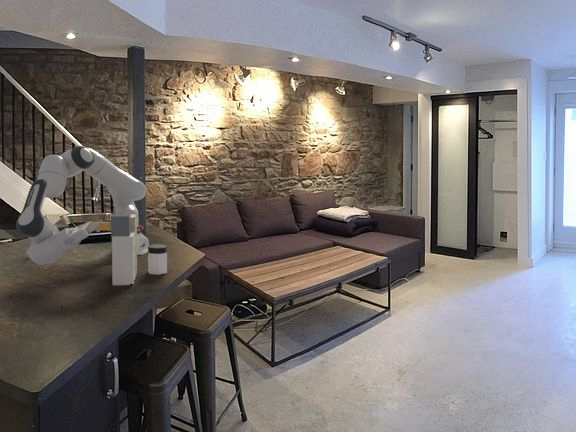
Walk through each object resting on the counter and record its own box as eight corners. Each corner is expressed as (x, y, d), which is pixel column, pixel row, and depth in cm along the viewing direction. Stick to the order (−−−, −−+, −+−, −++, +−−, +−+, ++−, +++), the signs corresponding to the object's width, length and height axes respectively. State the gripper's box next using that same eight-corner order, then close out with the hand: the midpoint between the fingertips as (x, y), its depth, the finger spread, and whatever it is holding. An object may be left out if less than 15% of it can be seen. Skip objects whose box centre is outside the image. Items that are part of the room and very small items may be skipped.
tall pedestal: (115, 277, 204) (115, 217, 200) (118, 272, 212) (117, 214, 209) (135, 277, 206) (135, 217, 202) (137, 272, 214) (136, 214, 211)
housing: (88, 236, 189) (87, 216, 188) (91, 233, 196) (90, 213, 195) (129, 235, 193) (129, 216, 192) (131, 232, 200) (130, 213, 198)
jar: (160, 268, 221) (160, 243, 219) (171, 272, 216) (171, 246, 214) (143, 272, 214) (143, 246, 213) (154, 275, 209) (154, 249, 208)
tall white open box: (112, 285, 193) (111, 236, 190) (115, 279, 202) (114, 232, 199) (133, 284, 195) (132, 236, 192) (135, 278, 204) (134, 232, 201)
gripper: (58, 237, 180) (91, 219, 182) (69, 228, 200) (99, 212, 202) (67, 251, 182) (100, 233, 184) (78, 241, 202) (108, 225, 203)
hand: (100, 222), depth 193 cm, fingers open, 5 cm apart
